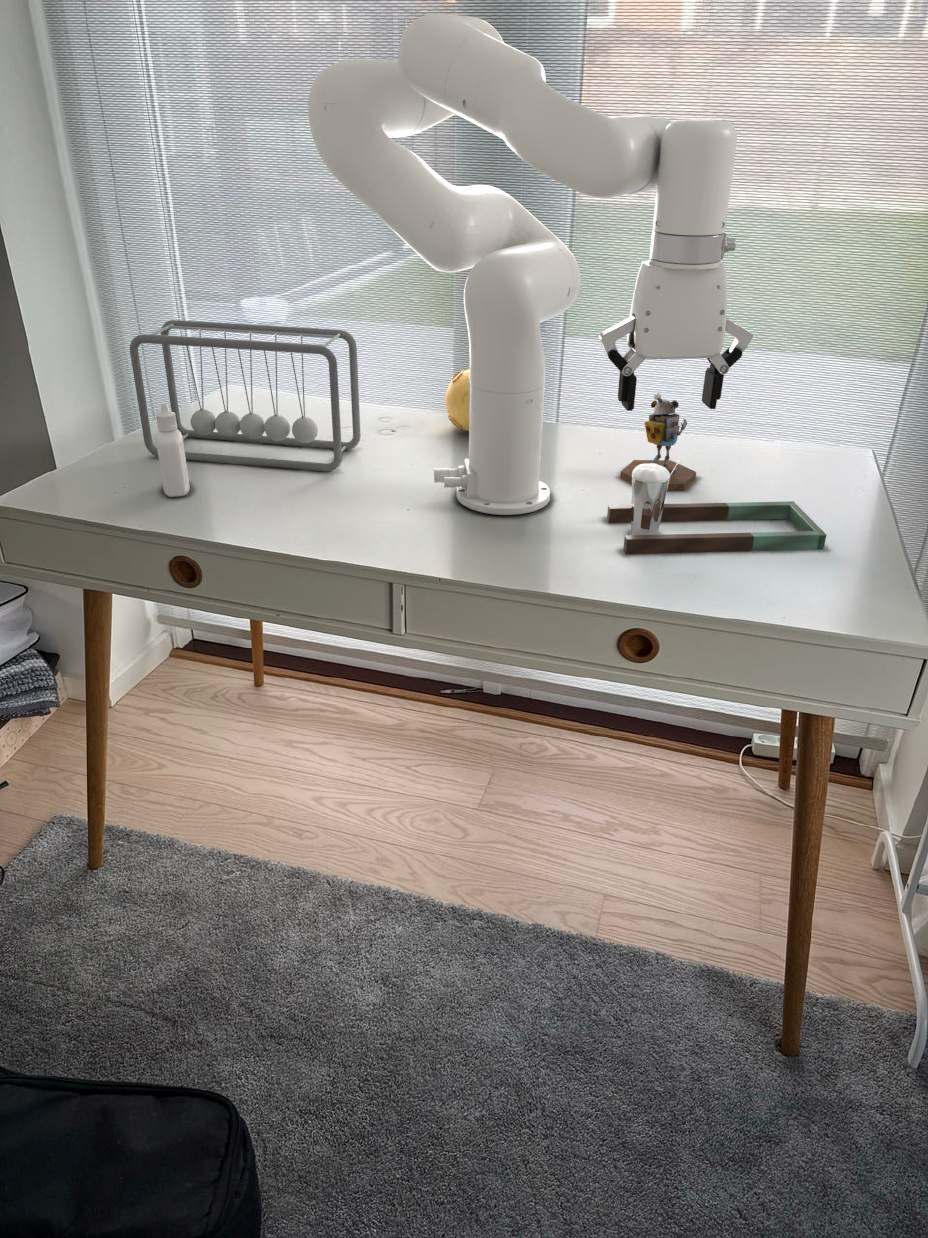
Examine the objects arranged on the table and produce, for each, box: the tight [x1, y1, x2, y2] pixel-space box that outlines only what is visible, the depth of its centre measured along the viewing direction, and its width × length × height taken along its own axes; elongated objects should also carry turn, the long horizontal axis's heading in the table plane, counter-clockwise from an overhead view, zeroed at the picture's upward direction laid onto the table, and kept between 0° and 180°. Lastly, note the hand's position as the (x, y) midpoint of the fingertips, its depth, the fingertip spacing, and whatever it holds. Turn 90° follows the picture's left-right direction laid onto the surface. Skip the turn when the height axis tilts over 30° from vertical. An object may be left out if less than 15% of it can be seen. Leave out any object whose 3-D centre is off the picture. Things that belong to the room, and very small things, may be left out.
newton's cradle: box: [129, 319, 362, 472], centre depth 137 cm, size 30×10×18 cm, turn 79°
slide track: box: [606, 500, 827, 555], centre depth 118 cm, size 24×10×2 cm, turn 95°
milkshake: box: [630, 460, 680, 535], centre depth 116 cm, size 5×5×10 cm
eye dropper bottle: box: [155, 402, 191, 498], centre depth 126 cm, size 4×6×12 cm
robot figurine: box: [619, 392, 697, 492], centre depth 132 cm, size 11×9×12 cm
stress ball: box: [445, 368, 470, 432], centre depth 150 cm, size 10×10×10 cm
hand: (667, 406), depth 110 cm, fingers open, 9 cm apart
